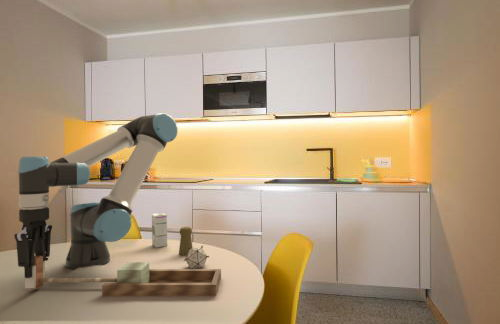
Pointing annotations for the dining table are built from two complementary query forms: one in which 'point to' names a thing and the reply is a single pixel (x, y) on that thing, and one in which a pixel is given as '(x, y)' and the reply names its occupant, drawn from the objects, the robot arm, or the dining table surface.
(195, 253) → the game die
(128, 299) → the dining table surface
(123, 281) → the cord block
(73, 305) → the dining table surface
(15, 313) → the dining table surface
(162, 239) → the syrup box
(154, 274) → the tray
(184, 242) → the cork
